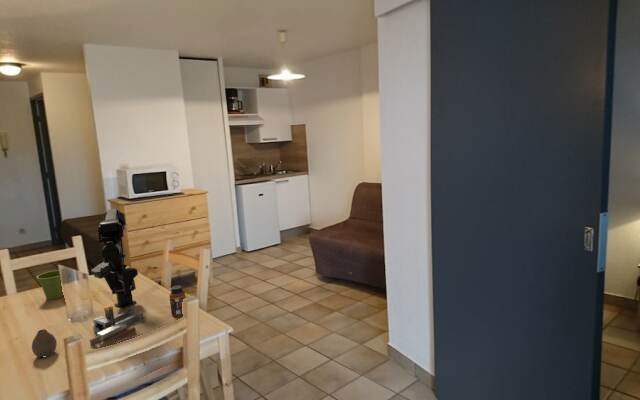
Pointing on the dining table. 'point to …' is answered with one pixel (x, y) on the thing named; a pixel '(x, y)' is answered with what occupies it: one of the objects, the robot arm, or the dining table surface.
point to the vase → (43, 343)
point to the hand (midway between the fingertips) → (119, 291)
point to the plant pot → (51, 284)
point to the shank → (111, 332)
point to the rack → (112, 340)
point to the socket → (118, 319)
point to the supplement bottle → (176, 300)
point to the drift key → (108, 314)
